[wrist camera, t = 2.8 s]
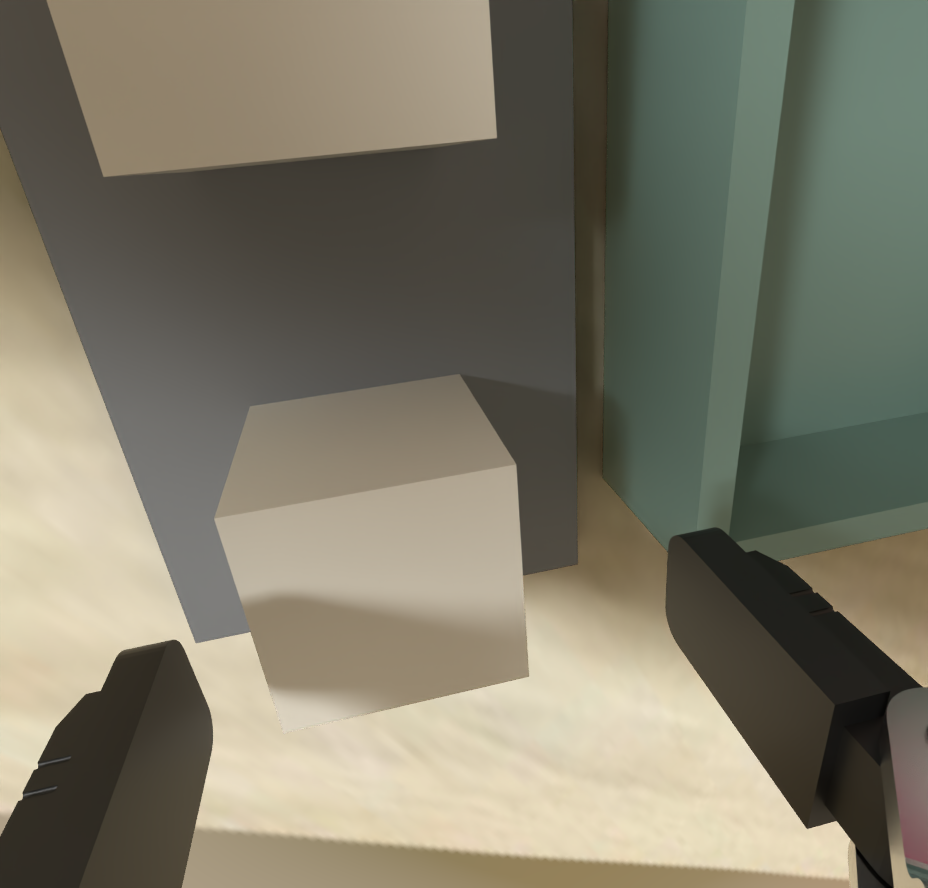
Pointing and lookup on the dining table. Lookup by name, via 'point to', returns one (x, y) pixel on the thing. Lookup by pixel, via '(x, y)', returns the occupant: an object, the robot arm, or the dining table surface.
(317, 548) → the pale stone
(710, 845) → the dining table surface
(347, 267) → the stone mat
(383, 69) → the pale stone
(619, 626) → the dining table surface
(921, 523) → the bin
